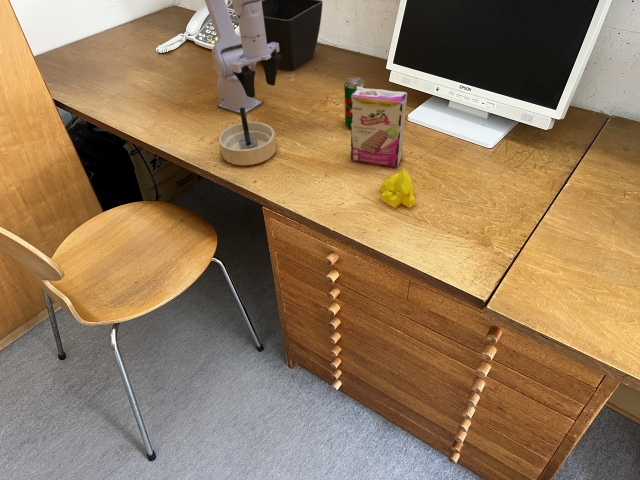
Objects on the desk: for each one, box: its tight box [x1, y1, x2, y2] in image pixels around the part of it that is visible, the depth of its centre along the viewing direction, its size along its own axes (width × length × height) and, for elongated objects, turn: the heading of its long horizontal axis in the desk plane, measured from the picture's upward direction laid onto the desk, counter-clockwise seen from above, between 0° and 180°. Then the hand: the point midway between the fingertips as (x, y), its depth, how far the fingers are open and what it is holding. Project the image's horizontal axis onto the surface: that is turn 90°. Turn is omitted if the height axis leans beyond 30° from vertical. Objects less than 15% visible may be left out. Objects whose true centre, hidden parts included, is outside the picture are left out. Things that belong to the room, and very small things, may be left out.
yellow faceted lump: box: [380, 168, 416, 209], centre depth 97 cm, size 6×8×8 cm
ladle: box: [239, 107, 258, 150], centre depth 111 cm, size 4×4×11 cm
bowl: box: [218, 121, 277, 166], centre depth 114 cm, size 13×13×4 cm
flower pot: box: [259, 0, 323, 71], centre depth 149 cm, size 19×19×17 cm
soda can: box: [343, 76, 366, 129], centre depth 119 cm, size 5×5×12 cm
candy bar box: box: [350, 87, 408, 168], centre depth 105 cm, size 11×5×16 cm, turn 71°
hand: (261, 90), depth 117 cm, fingers open, 7 cm apart
